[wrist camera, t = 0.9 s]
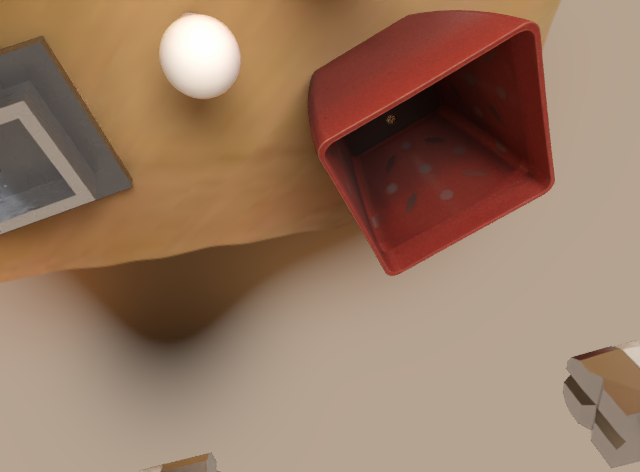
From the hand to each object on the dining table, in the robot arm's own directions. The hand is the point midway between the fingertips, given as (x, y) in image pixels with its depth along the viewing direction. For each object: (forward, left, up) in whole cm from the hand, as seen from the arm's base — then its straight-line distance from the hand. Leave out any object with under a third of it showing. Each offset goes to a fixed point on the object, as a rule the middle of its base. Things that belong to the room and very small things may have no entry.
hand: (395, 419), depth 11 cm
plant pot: (+18, +15, -43) cm, 49 cm away
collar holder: (+10, -22, -43) cm, 49 cm away
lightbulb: (+5, -2, -43) cm, 43 cm away
